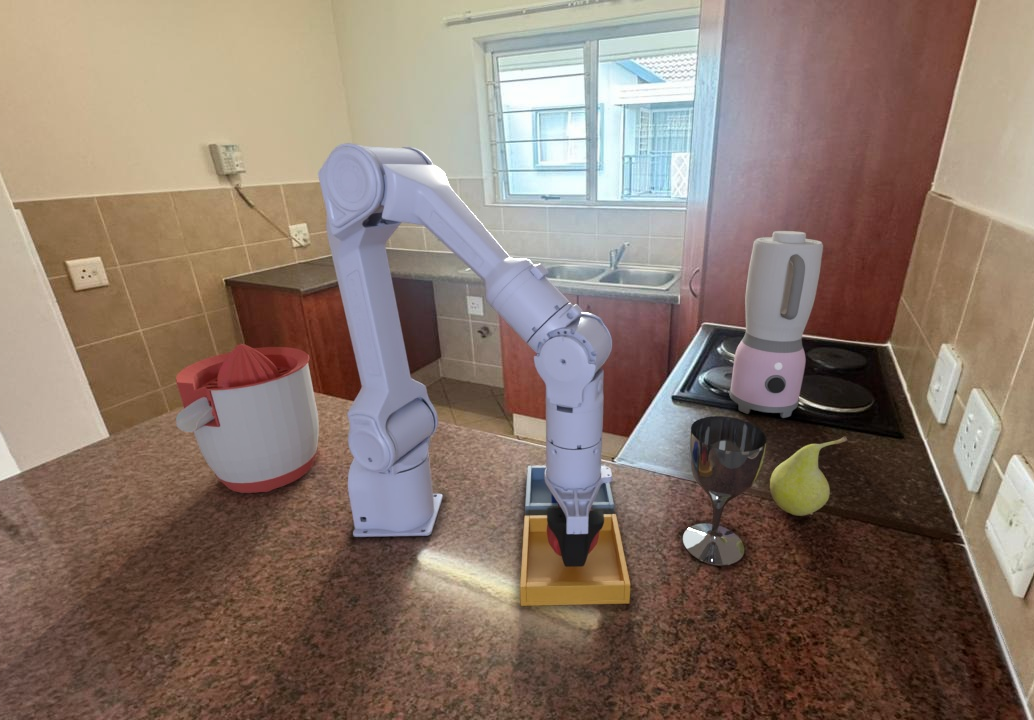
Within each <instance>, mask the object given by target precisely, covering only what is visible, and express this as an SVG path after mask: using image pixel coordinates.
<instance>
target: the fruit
mask: <svg viewBox="0 0 1034 720" xmlns="http://www.w3.org/2000/svg"><path fill="white" fill-rule="evenodd" d="M846 441H848V439H847V437H846V436H842V437H841V438H840V439H837V440H832V441H828V442H823V443H810V444H807V445H804V446H803V447H801V448H800V449H798V450H797V451H795V453H793V454H792V455H791V456H790V457H789V458H787V459H786V460H784V461H782V462H781V463H779V465H777V466H776V467H775V469H774V470H773V471H772V473H771V475H770V479H769V489H770V490H769V491H770V495H771V498H772V500H773V501H774V502H775V504H776V505H777V506H778V507H779V508H780V509H781V510H782V511H784V512H785V513H788V514H790V515H793V516H797V517H798V516H799V517H804V516H808V515H810V514H813V513H815V512H817V511H819V510H820V509H821V508H823V507H824V506H825V505H826V503H827V502H828V501H829V498H830V494H831V493H830V492H831V489H830V484H829V482H828V480H827V478H826V477H825V474H824V473H823V472H822V470H821V469H820V468H819V455H820V451H821V449H823V448H825V447H828V446H831V445H838V444H842V443H845V442H846Z"/></svg>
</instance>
